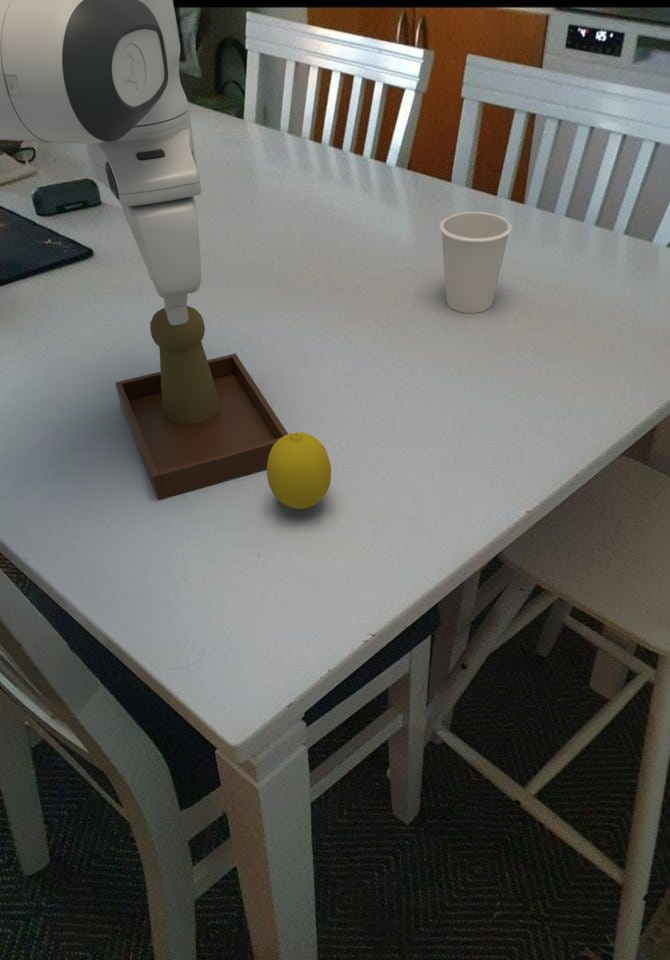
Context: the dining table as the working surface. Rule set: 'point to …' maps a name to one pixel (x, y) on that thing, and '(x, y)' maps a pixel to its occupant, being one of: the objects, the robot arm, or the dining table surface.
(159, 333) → the cork
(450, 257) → the dixie cup
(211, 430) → the tray
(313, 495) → the lemon
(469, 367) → the dining table surface
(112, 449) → the dining table surface
